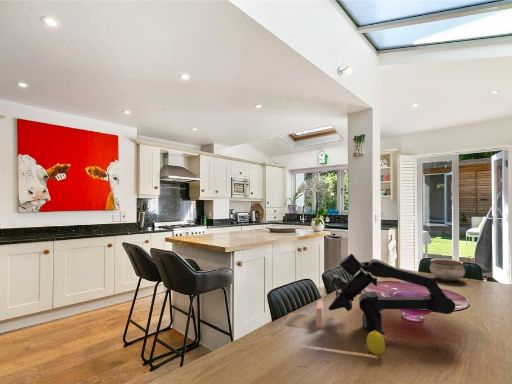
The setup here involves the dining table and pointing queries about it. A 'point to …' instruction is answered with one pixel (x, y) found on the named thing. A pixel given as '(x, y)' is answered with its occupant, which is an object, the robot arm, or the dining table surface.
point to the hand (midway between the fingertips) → (329, 309)
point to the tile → (319, 314)
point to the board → (312, 322)
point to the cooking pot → (447, 269)
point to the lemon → (375, 343)
